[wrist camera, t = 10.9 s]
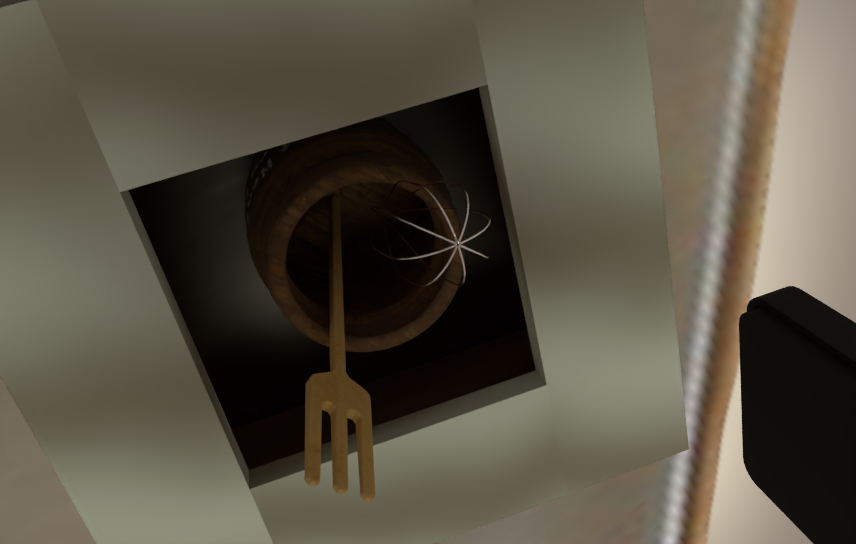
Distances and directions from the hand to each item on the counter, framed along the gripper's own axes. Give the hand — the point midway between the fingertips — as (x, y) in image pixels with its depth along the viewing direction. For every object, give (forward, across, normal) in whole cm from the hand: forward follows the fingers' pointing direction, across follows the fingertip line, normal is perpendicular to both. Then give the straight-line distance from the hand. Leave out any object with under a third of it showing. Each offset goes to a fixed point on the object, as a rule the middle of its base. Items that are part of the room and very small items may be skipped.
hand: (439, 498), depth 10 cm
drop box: (+16, 0, +2) cm, 16 cm away
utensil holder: (+16, 0, +1) cm, 16 cm away
